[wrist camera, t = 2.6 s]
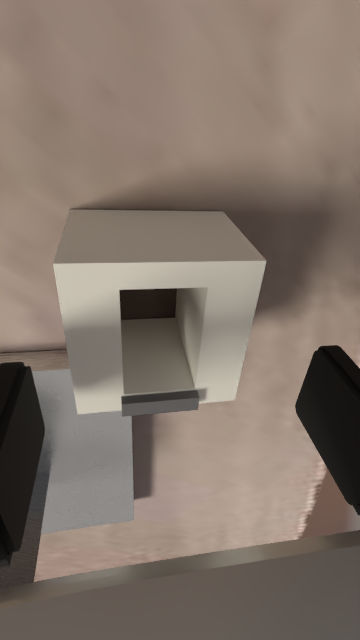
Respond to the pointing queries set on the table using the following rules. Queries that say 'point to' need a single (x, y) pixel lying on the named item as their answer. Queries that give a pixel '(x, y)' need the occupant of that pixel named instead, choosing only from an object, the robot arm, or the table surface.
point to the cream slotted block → (161, 333)
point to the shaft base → (71, 464)
